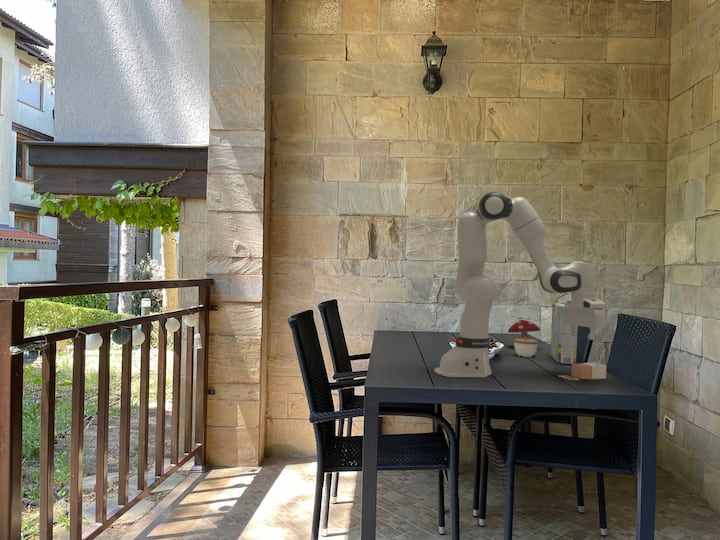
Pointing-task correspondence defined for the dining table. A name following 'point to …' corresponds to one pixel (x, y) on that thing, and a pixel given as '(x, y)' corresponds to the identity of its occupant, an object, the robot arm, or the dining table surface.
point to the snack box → (562, 338)
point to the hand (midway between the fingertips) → (582, 337)
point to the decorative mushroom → (523, 328)
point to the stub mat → (568, 377)
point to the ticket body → (597, 370)
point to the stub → (581, 371)
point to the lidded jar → (525, 347)
